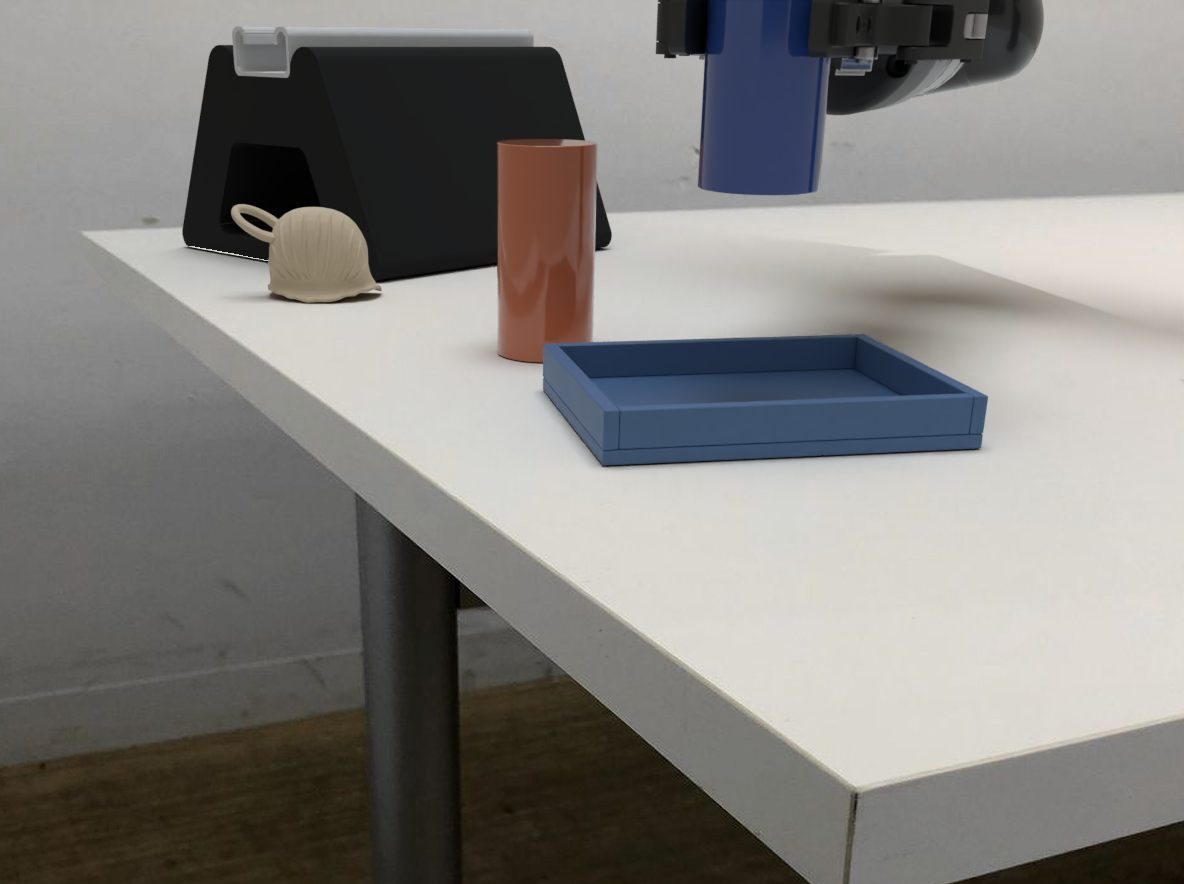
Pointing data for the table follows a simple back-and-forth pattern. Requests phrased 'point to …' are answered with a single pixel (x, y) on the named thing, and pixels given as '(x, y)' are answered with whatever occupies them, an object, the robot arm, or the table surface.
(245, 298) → the table surface
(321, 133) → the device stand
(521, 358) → the cylinder
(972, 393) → the blue tray
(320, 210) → the decorative ornament
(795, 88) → the blue tall cylinder
